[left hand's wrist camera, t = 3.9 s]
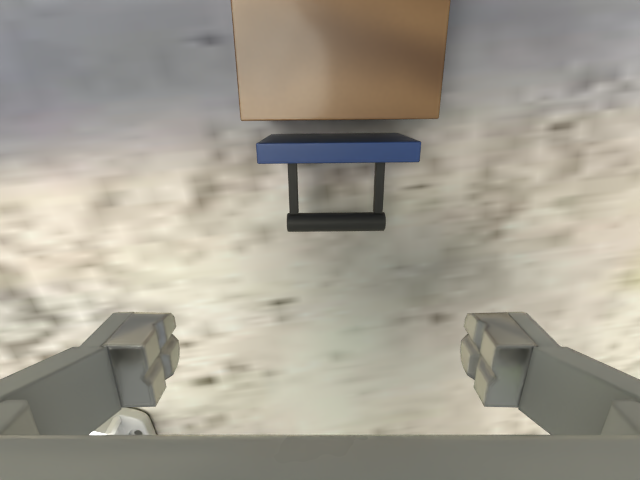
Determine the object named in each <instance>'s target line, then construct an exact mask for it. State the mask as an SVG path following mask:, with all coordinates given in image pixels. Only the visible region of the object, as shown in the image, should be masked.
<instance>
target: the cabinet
mask: <svg viewBox="0 0 640 480" xmlns="http://www.w3.org/2000/svg"><path fill="white" fill-rule="evenodd" d="M231 9H232V21H233V33H234V45H235V57H236V69H237V81H238V93H239V105H240V117H241V121H271V120H365V119H438V118H439V110H440V100H441V90H442V80H443V70H444V60H445V50H446V40H447V29H448V19H449V9H450V0H231Z"/></svg>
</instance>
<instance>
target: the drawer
mask: <svg viewBox="0 0 640 480" xmlns="http://www.w3.org/2000/svg"><path fill="white" fill-rule="evenodd" d="M256 149H257V163H258V164H281V163H288V181H289V206H290V213H288V214H287V230H288V232H308V231H384V230H385V225H386V218H385V213H384V212H382V211H383V192H384V173H385V162H419V161H420V150H421V142H420V141H417V140H414V139H412V138H409V137H406V136H404V135H401V134H398V133H364V134H271V135H270V136H268V137H266V138H265V139H263V140H262V141H260V142H258V143H257V144H256ZM297 163H375V179H374V202H373V212H362V213H298V212H299V209H298V177H297Z"/></svg>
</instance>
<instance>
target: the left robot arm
mask: <svg viewBox="0 0 640 480" xmlns="http://www.w3.org/2000/svg"><path fill="white" fill-rule="evenodd" d="M175 328H176V323H175V318H174V316H173V315H172V314H171V313H153V312H117V313H113V314H112V315H111V316H110V317H109V318H108V319H107V320H106V321H105V322H104V323H103V324H102V325H101V326H100V327H99V328H98V329H97V330H96V331H95V332H94V333H93V334H92V335H91V336H90V337H89V338H88V339H87V340H86V341H85V342H84V343H83V344H82V345H81V346H80V347H72V348H70V349H67V350H65V351H63V352H61V353H58V354H56V355H54V356H52V357H50V358H47V359H45V360H43V361H41V362H38V363H36V364H34V365H32V366H29V367H27V368H25V369H23V370H20V371H18V372H16V373H14V374H12V375H9V376H7V377H5V378H3V379H0V480H640V380H639V379H637V378H635V377H633V376H631V375H628V374H626V373H624V372H622V371H619V370H617V369H615V368H613V367H610V366H608V365H606V364H604V363H602V362H599V361H597V360H595V359H593V358H590V357H588V356H586V355H584V354H582V353H579V352H577V351H575V350H573V349H570V348H568V347H560V346H559V345H558V344H557V343H556V342H555V341H554V340H553V339H552V338H551V337H550V336H549V335H548V334H547V333H546V332H545V331H544V330H543V329H542V328H541V327H540V326H539V325H538V324H537V323H536V322H535V321H534V320H533V319H532V318H531V317H530V316H529V315H528V314H527V313H524V312H504V313H468V314H467V316H466V318H465V322H464V328H465V329H466V331H467V333H468V334H467V335H466V336H465V337H464V338H463V339H462V340H461V348H460V354H461V362H462V365H463V368H464V370H465V372H466V374H467V375H468V376H469V377H471V378H472V379H474V380H475V382H474V389H475V390H476V392H477V394H478V396H479V398H480V399H481V401H482V403H483V405H484V407H519V408H518V409H519V410H520V411H521V412H523V413H524V414H525V415H527V416H528V417H529V418H530V419H532V420H533V421H534V422H535V423H537V424H538V425H539V426H540V427H542V428H543V429H544V430H546V431H547V432H548V433H549V434H551V435H156V433H155V430H154V428H153V425H152V423H151V420H150V418H149V416H148V415H147V414H146V413H144V412H142V411H139V410H136V409H131V408H126V407H155V406H156V405H157V403H158V401H159V399H160V398H161V396H162V394H163V392H164V390H165V389H166V382H165V380H166V379H168V378H169V377H171V376H172V375H173V374H174V372H175V370H176V368H177V365H178V361H179V355H180V347H179V340H178V339H177V338H176V337H175V336H174V335H173V334H172V333H173V331H174V329H175Z"/></svg>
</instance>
